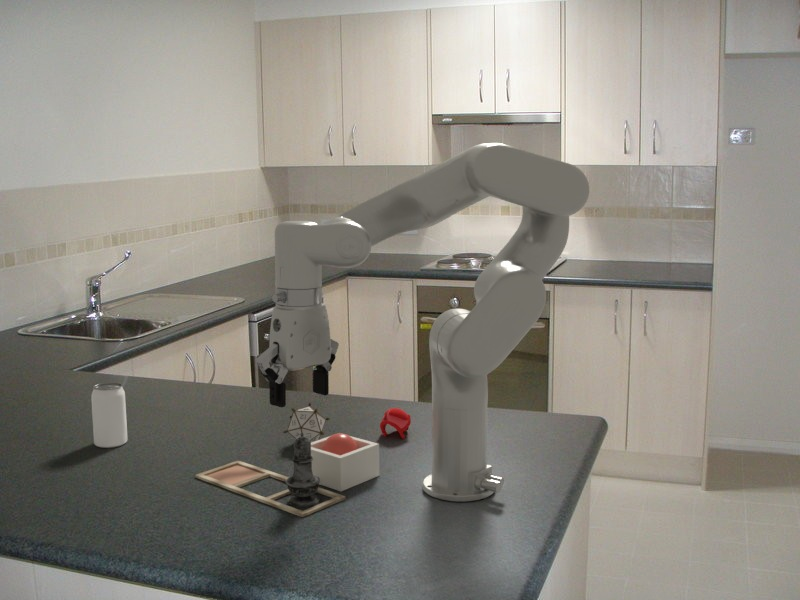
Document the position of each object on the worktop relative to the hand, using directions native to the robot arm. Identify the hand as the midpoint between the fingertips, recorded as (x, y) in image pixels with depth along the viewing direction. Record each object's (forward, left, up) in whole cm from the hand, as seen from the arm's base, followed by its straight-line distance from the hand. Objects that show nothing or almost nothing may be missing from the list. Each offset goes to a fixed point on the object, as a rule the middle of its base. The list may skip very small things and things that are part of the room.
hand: (299, 399), depth 147 cm
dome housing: (+3, -12, -18) cm, 22 cm away
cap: (+11, -37, -18) cm, 43 cm away
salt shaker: (0, 0, -18) cm, 18 cm away
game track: (+9, 0, -18) cm, 20 cm away
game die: (+21, -21, -18) cm, 35 cm away
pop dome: (+3, -12, -16) cm, 20 cm away
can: (+52, +4, -18) cm, 55 cm away
